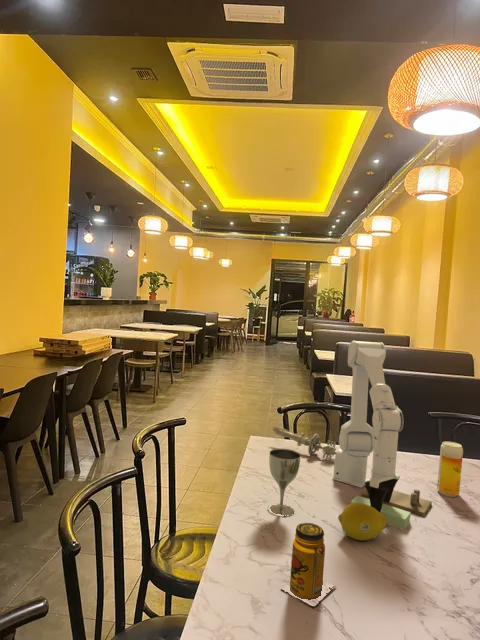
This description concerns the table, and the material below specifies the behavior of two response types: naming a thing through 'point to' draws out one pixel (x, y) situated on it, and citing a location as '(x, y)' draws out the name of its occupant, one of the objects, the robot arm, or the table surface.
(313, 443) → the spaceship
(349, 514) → the lemon
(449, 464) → the beer can
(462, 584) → the table surface
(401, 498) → the peg base
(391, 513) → the shelf board
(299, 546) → the condiment
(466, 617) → the table surface
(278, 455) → the wine glass
